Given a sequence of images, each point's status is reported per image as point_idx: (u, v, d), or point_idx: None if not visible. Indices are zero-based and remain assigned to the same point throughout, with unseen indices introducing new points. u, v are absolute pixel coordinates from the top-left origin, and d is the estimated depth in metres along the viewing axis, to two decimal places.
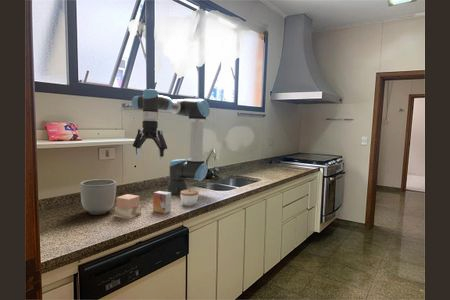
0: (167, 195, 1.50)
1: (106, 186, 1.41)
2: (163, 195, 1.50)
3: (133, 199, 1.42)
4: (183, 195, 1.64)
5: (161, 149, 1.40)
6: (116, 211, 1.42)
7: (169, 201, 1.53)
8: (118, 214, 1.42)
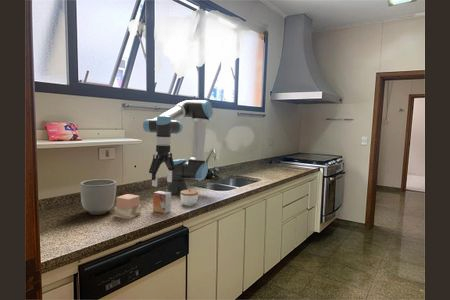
0: (167, 195, 1.50)
1: (106, 186, 1.41)
2: (163, 195, 1.50)
3: (133, 199, 1.42)
4: (183, 195, 1.64)
5: (151, 172, 1.44)
6: (116, 211, 1.42)
7: (169, 201, 1.53)
8: (118, 214, 1.42)
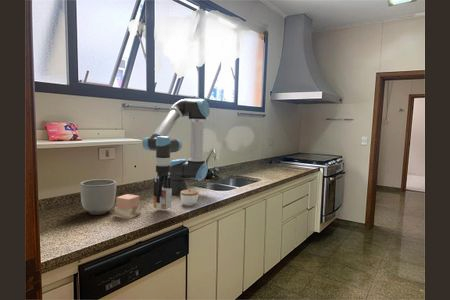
0: (167, 191, 1.51)
1: (106, 186, 1.41)
2: (163, 191, 1.50)
3: (133, 199, 1.42)
4: (183, 195, 1.64)
5: (155, 196, 1.50)
6: (116, 211, 1.42)
7: (169, 197, 1.53)
8: (118, 214, 1.42)
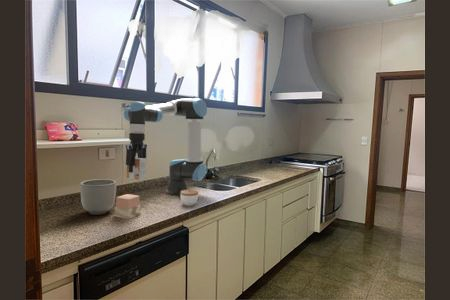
0: (141, 160, 1.42)
1: (106, 186, 1.41)
2: (136, 160, 1.41)
3: (133, 199, 1.42)
4: (183, 195, 1.64)
5: (128, 165, 1.41)
6: (116, 211, 1.42)
7: (144, 167, 1.44)
8: (118, 214, 1.42)
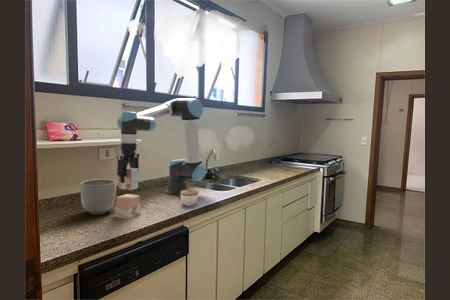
0: (133, 170, 1.41)
1: (106, 186, 1.41)
2: (128, 170, 1.40)
3: (133, 199, 1.43)
4: (183, 195, 1.64)
5: (119, 175, 1.39)
6: (116, 211, 1.42)
7: (135, 177, 1.43)
8: (118, 214, 1.42)
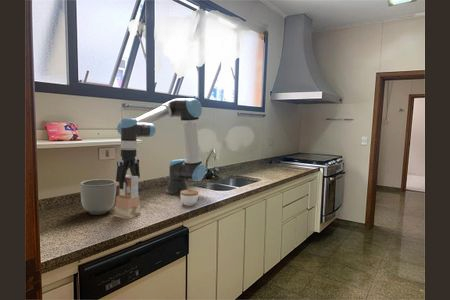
0: (133, 179, 1.41)
1: (106, 186, 1.41)
2: (128, 179, 1.40)
3: (133, 199, 1.42)
4: (183, 195, 1.64)
5: (118, 181, 1.39)
6: (116, 211, 1.42)
7: (136, 185, 1.43)
8: (117, 214, 1.42)
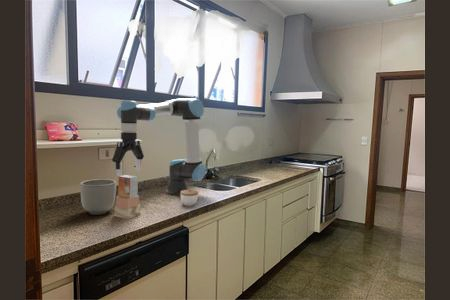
0: (132, 179, 1.41)
1: (106, 186, 1.41)
2: (127, 179, 1.40)
3: (132, 199, 1.42)
4: (183, 195, 1.64)
5: (114, 161, 1.36)
6: (116, 211, 1.42)
7: (135, 185, 1.43)
8: (117, 214, 1.42)
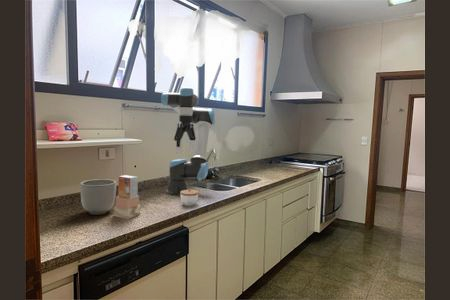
0: (132, 179, 1.41)
1: (106, 186, 1.41)
2: (127, 179, 1.40)
3: (132, 199, 1.43)
4: (183, 195, 1.64)
5: (175, 140, 1.56)
6: (115, 211, 1.42)
7: (135, 185, 1.43)
8: (117, 214, 1.42)
